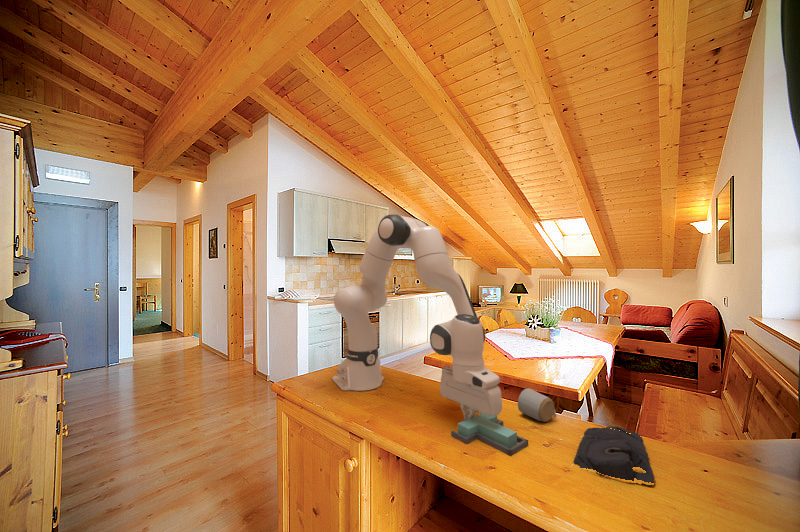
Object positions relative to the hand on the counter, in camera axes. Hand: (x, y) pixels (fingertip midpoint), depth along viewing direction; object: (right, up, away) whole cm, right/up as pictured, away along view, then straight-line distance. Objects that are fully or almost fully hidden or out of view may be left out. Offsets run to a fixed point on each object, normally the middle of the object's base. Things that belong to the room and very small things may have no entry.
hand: (468, 420), depth 97 cm
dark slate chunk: (+31, -2, -16) cm, 35 cm away
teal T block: (+5, -2, -6) cm, 8 cm away
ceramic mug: (+22, -2, +6) cm, 23 cm away
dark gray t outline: (+5, -2, -6) cm, 8 cm away
